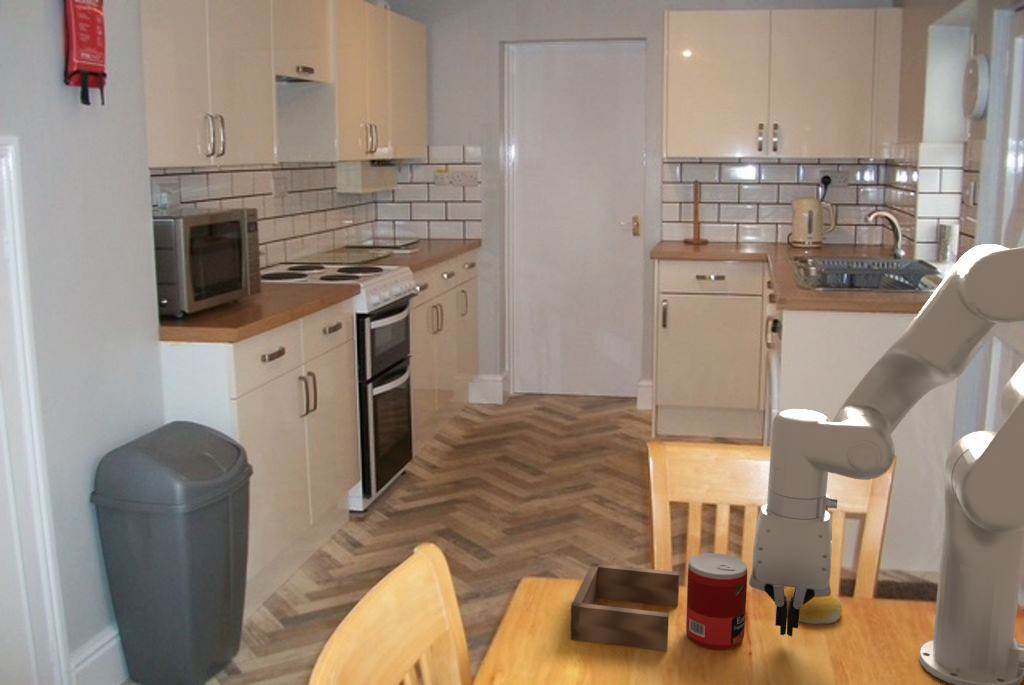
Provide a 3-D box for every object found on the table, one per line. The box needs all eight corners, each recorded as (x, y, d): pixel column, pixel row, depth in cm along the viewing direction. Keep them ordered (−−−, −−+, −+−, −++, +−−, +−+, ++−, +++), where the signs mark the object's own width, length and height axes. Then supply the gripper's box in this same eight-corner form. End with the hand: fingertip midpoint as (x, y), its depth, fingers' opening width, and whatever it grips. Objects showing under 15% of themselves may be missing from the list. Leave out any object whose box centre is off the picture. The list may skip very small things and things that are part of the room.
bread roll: (816, 632, 149) (817, 605, 148) (768, 608, 156) (770, 583, 156) (855, 617, 153) (856, 591, 153) (807, 595, 161) (808, 571, 160)
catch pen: (678, 603, 157) (679, 572, 156) (666, 651, 143) (667, 616, 142) (590, 594, 161) (591, 563, 160) (570, 639, 146) (571, 605, 145)
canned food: (744, 653, 142) (748, 577, 140) (684, 648, 144) (687, 572, 142) (743, 628, 150) (747, 555, 147) (686, 623, 151) (689, 550, 149)
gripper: (853, 499, 142) (842, 626, 146) (740, 488, 146) (731, 612, 149) (856, 518, 135) (844, 651, 138) (737, 506, 139) (728, 636, 142)
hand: (786, 630), depth 144 cm, fingers closed
